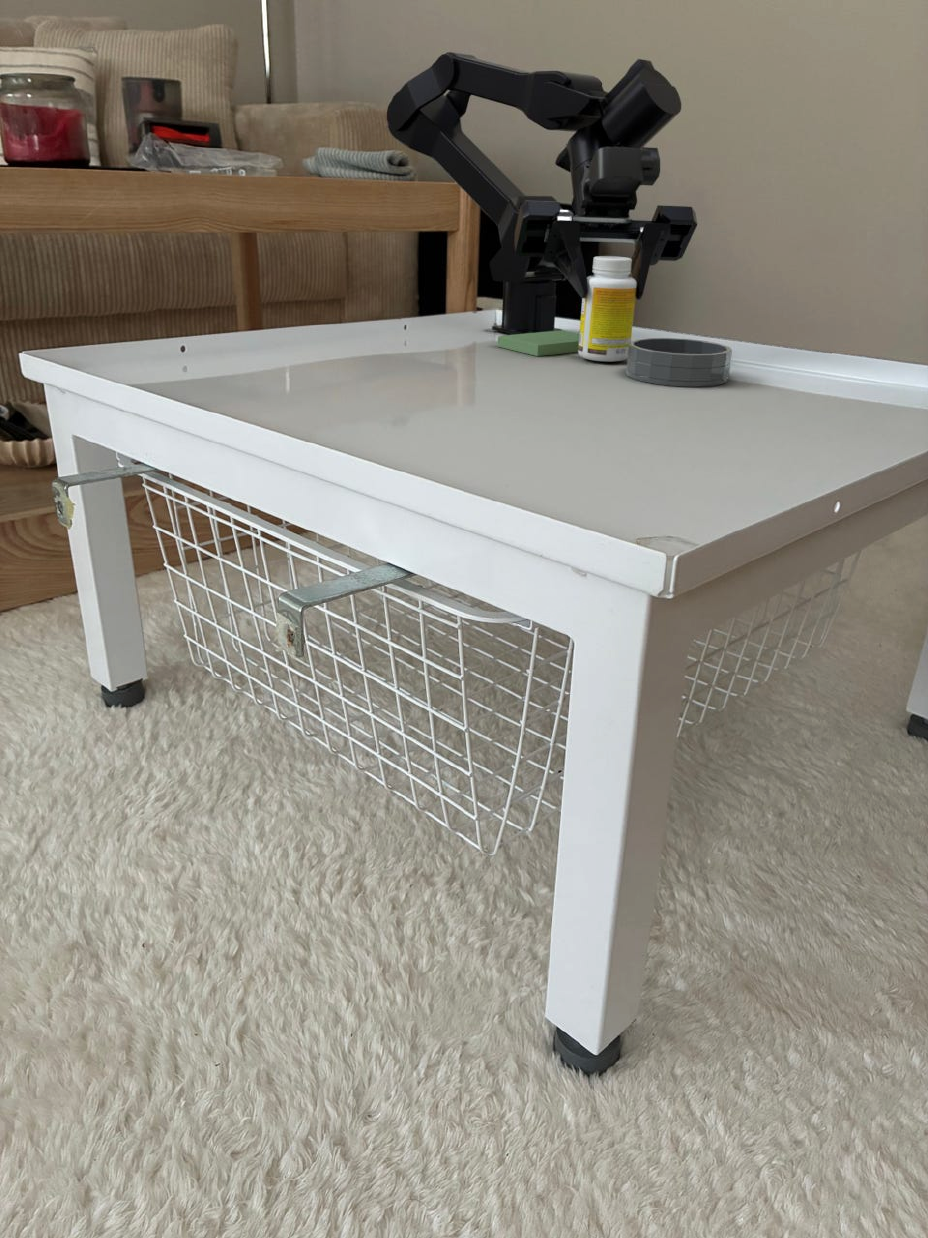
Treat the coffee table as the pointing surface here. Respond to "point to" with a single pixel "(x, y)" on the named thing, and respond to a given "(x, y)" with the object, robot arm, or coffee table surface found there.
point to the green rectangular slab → (541, 342)
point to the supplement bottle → (608, 310)
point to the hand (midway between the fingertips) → (612, 296)
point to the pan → (678, 362)
